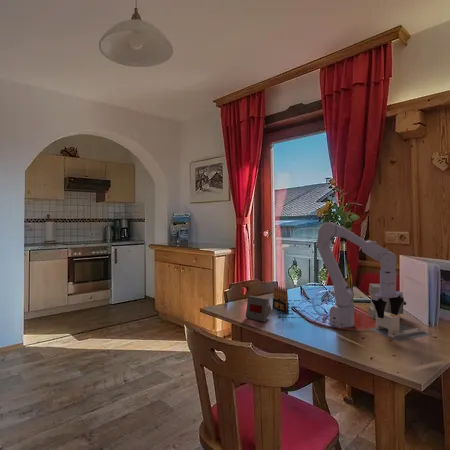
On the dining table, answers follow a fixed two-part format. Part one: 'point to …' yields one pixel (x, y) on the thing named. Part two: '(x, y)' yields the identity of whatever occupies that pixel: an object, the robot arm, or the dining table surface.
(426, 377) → the dining table surface
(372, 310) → the circuit breaker
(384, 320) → the block
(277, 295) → the ammunition clip
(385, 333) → the board
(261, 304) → the voltmeter
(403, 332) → the din rail
